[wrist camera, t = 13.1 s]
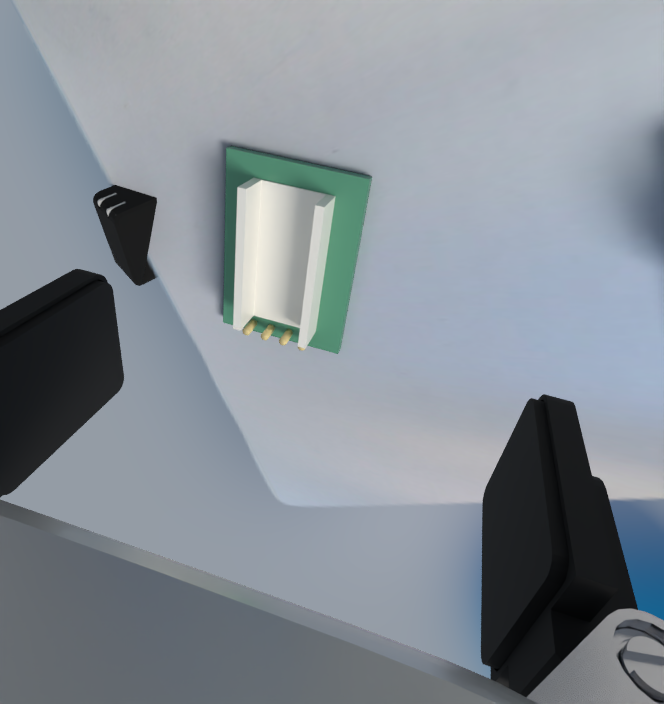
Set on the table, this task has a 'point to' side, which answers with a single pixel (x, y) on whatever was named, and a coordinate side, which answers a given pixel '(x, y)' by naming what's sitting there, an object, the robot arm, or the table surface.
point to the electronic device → (128, 229)
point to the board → (290, 247)
